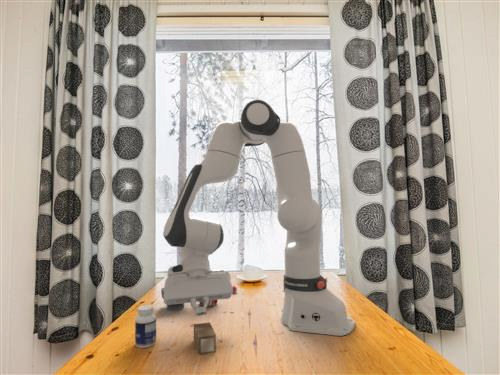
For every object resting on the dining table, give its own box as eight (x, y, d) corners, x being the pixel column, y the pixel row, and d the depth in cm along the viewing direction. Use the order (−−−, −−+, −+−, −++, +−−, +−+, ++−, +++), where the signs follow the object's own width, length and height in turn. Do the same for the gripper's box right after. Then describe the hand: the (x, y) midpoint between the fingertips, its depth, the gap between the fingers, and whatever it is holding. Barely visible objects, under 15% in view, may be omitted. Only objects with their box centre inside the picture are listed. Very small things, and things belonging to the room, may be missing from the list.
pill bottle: (131, 344, 87) (131, 307, 87) (150, 338, 91) (150, 302, 91) (140, 350, 83) (140, 312, 84) (159, 343, 87) (159, 307, 87)
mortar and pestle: (159, 312, 112) (158, 277, 112) (163, 304, 121) (163, 271, 121) (192, 311, 113) (191, 276, 113) (194, 302, 122) (193, 270, 123)
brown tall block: (209, 322, 90) (216, 335, 82) (209, 338, 90) (216, 353, 81) (193, 324, 89) (198, 337, 80) (193, 340, 89) (198, 355, 80)
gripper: (227, 275, 106) (235, 315, 96) (162, 280, 100) (164, 324, 90) (230, 263, 102) (238, 304, 92) (163, 268, 96) (164, 313, 86)
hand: (201, 314), depth 91 cm, fingers closed
